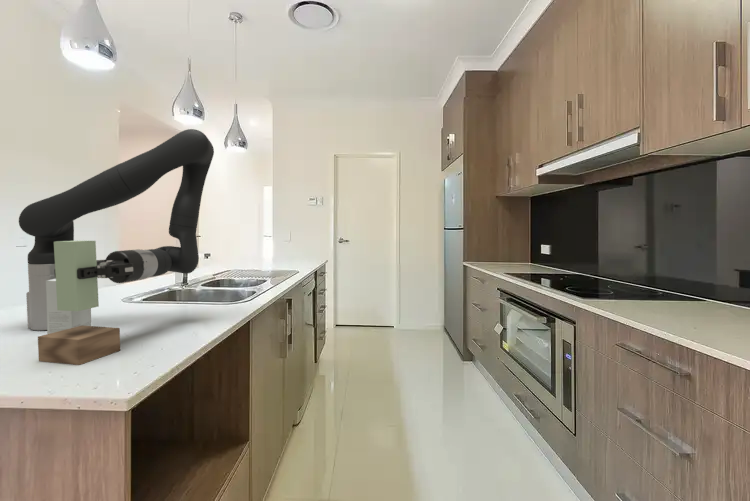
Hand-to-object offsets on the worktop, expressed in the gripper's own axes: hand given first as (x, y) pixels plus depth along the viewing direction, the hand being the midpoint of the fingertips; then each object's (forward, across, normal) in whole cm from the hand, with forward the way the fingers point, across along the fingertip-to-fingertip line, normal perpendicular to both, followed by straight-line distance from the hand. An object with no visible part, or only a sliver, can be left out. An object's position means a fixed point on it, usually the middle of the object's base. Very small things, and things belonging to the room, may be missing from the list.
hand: (67, 273), depth 87 cm
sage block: (-2, 0, +8) cm, 8 cm away
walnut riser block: (-2, 0, +18) cm, 18 cm away
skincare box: (-13, -15, +18) cm, 27 cm away
